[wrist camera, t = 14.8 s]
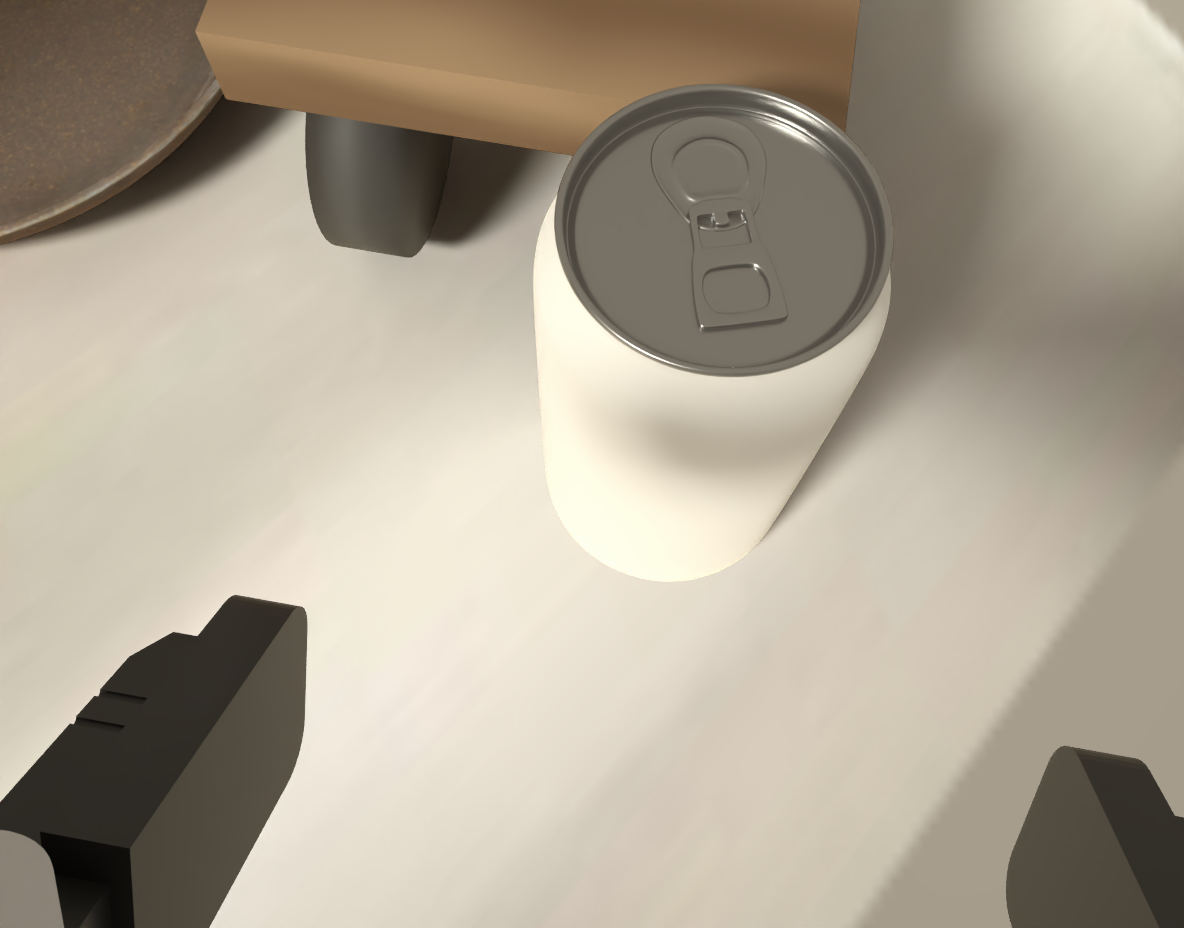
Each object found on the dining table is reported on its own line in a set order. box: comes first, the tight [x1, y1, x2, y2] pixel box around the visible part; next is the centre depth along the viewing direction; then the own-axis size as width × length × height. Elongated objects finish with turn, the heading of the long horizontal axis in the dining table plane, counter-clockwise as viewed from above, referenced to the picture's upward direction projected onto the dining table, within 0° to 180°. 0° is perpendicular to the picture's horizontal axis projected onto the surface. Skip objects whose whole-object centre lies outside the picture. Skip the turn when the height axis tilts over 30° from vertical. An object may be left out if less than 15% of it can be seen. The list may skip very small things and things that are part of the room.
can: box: [533, 84, 894, 581], centre depth 23 cm, size 6×6×12 cm
